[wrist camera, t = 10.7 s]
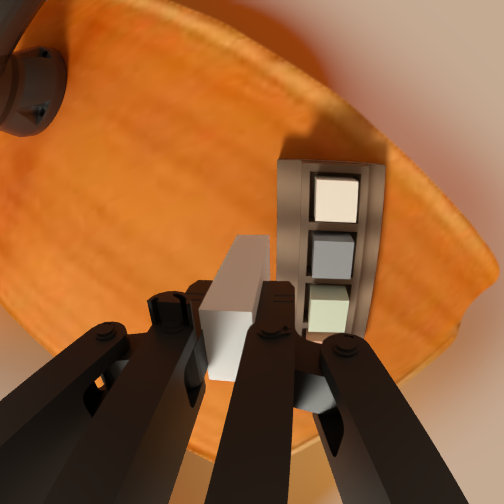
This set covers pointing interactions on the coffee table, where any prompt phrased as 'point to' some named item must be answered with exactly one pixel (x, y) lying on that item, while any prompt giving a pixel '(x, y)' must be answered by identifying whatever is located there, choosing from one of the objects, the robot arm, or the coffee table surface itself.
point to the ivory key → (335, 199)
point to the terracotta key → (318, 336)
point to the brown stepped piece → (303, 224)
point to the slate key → (332, 255)
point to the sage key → (327, 308)
